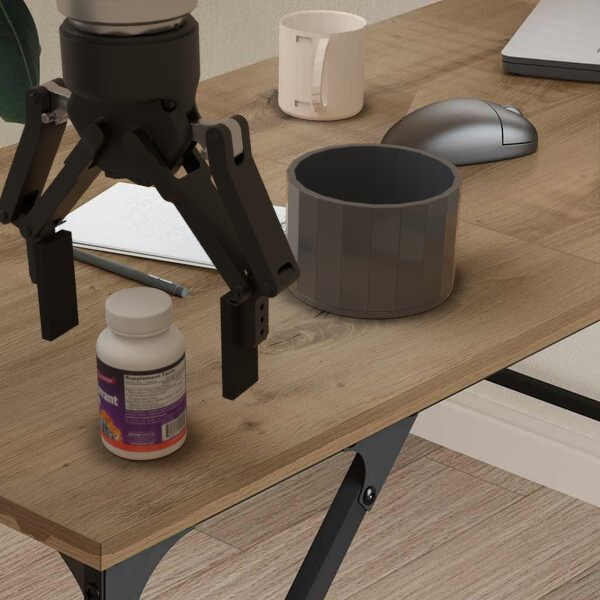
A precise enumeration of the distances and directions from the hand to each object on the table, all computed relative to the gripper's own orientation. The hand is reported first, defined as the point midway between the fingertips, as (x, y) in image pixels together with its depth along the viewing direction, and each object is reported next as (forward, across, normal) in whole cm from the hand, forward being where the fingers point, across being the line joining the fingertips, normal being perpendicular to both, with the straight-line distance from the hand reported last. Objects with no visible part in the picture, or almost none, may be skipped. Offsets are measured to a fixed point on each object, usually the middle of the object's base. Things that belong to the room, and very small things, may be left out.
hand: (147, 359), depth 81 cm
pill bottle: (+6, 0, 0) cm, 6 cm away
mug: (+6, +23, -61) cm, 65 cm away
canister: (+6, -1, -28) cm, 28 cm away
